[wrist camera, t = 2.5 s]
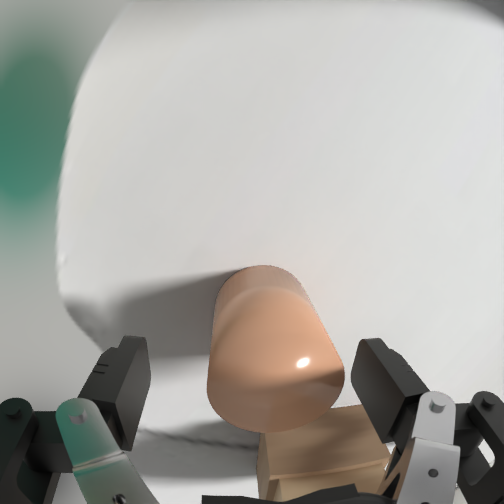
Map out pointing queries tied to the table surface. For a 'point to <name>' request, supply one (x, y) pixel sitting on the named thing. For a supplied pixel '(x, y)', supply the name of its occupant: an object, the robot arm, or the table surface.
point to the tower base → (319, 448)
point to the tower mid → (330, 482)
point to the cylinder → (270, 354)
